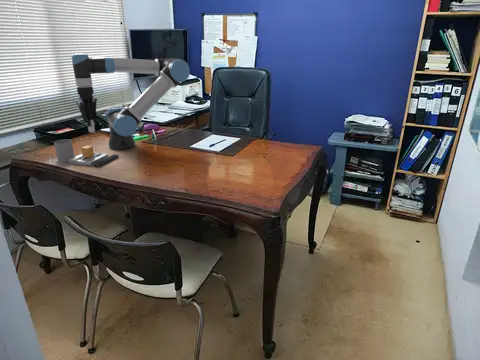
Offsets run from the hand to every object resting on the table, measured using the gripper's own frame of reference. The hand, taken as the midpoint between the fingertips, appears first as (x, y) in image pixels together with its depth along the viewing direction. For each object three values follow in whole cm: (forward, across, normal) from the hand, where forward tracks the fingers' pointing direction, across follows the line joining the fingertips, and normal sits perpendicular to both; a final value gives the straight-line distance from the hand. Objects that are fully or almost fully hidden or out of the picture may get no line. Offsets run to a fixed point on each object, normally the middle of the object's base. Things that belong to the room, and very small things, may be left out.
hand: (92, 131), depth 182 cm
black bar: (+14, +5, +10) cm, 18 cm away
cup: (+14, +8, -12) cm, 21 cm away
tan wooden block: (+12, +6, 0) cm, 13 cm away
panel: (+14, +6, 0) cm, 15 cm away
